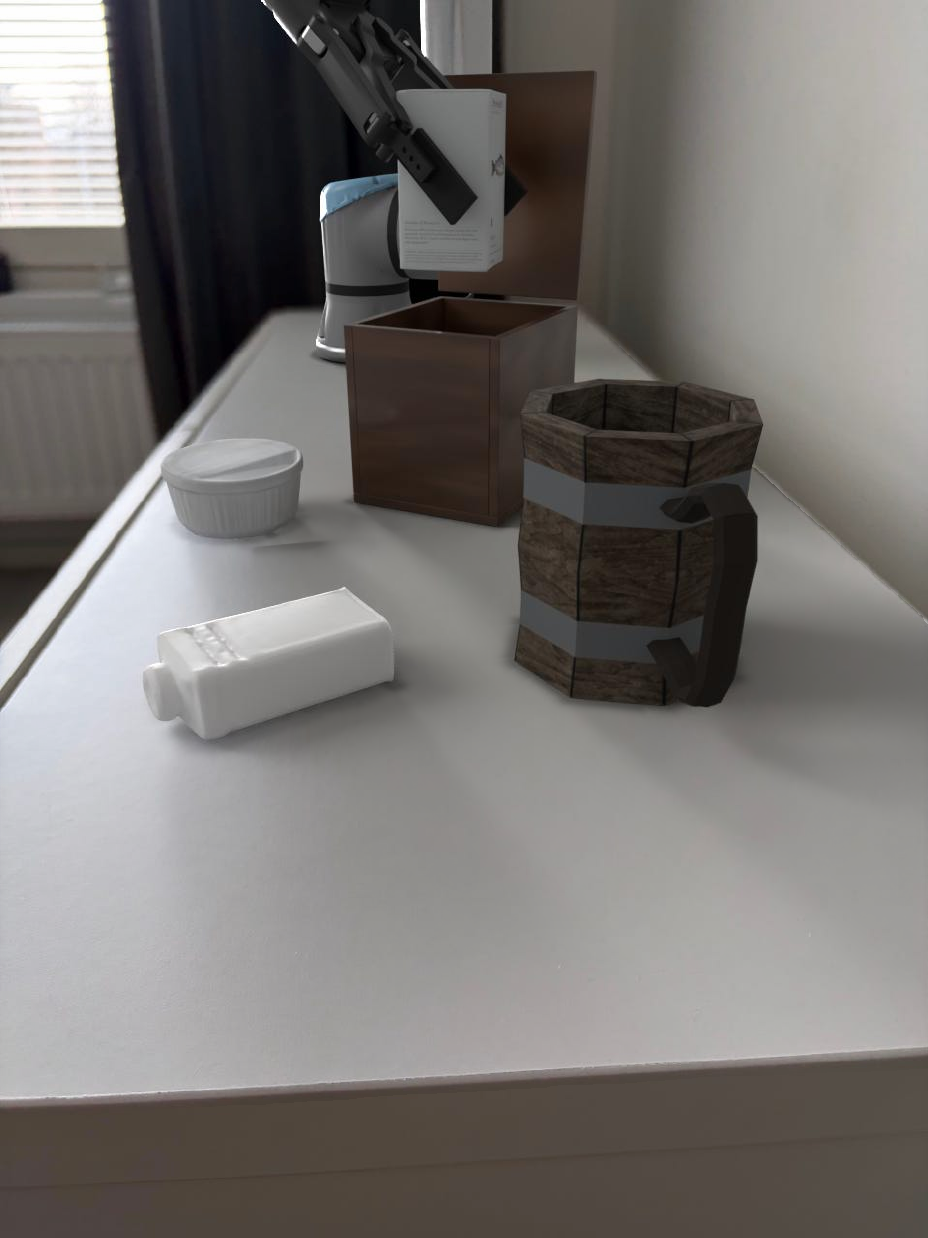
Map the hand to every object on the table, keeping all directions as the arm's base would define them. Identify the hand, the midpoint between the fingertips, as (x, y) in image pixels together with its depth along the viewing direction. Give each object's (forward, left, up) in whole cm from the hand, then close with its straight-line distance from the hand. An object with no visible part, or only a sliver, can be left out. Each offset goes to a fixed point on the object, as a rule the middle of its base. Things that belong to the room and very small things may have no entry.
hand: (490, 207), depth 75 cm
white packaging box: (0, -3, -5) cm, 6 cm away
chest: (0, -2, -23) cm, 23 cm away
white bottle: (+37, +4, -23) cm, 44 cm away
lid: (-9, -2, +1) cm, 9 cm away
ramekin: (+16, -15, -23) cm, 32 cm away
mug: (+26, +22, -23) cm, 41 cm away
